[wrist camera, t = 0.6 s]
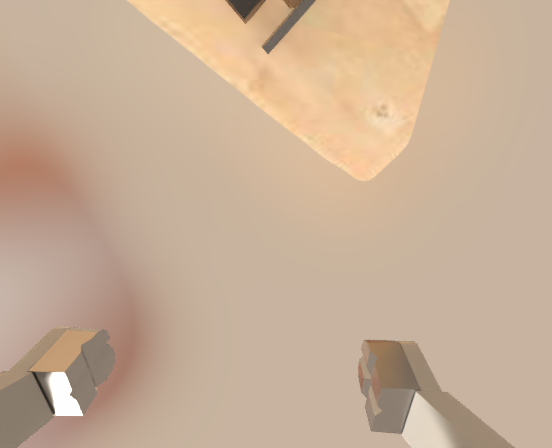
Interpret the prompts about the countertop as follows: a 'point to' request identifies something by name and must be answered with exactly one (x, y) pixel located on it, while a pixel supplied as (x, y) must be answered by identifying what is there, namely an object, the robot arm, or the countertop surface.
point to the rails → (286, 25)
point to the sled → (253, 7)
